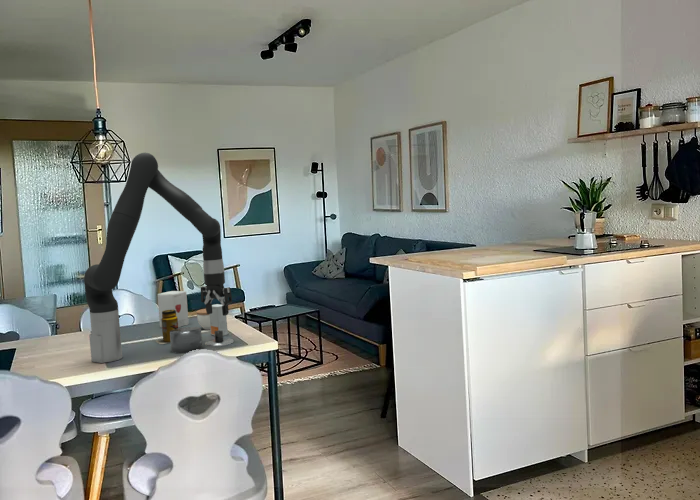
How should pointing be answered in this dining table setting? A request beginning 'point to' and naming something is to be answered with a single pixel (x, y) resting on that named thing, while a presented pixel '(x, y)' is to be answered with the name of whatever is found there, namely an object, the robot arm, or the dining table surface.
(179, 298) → the supplement box
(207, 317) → the lidded jar
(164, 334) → the condiment
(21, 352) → the dining table surface
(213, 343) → the lid
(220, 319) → the skincare box
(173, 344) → the grey block
